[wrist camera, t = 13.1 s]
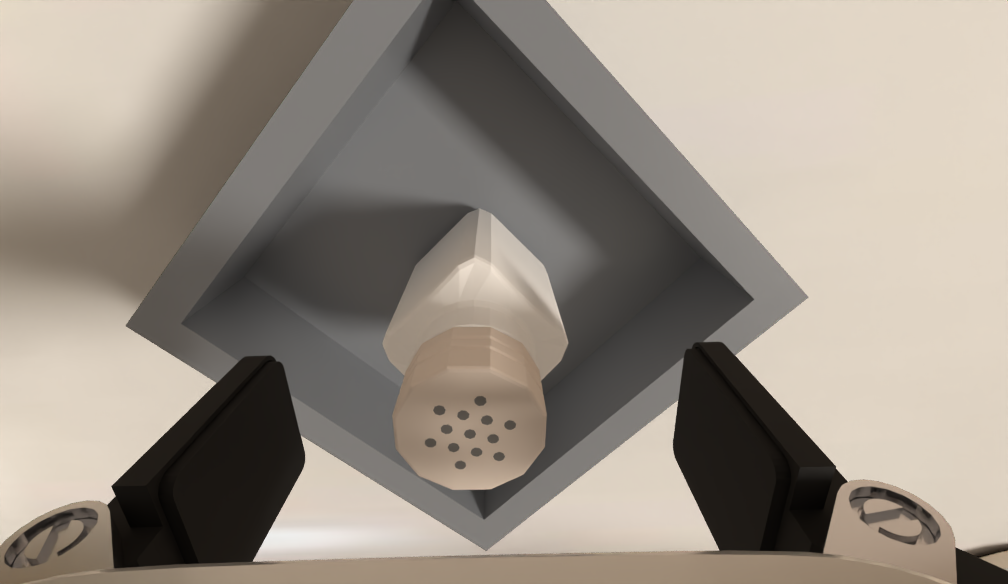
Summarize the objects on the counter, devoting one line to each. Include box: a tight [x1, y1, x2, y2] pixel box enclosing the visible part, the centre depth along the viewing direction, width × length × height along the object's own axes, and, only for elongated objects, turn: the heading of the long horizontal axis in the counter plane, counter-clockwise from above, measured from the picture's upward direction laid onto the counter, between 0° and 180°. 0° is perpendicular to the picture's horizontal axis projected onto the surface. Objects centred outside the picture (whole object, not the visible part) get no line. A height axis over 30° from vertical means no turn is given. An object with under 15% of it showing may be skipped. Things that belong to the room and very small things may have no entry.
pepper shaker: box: [382, 208, 568, 490], centre depth 14 cm, size 4×4×10 cm
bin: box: [126, 0, 808, 551], centre depth 17 cm, size 15×15×5 cm
